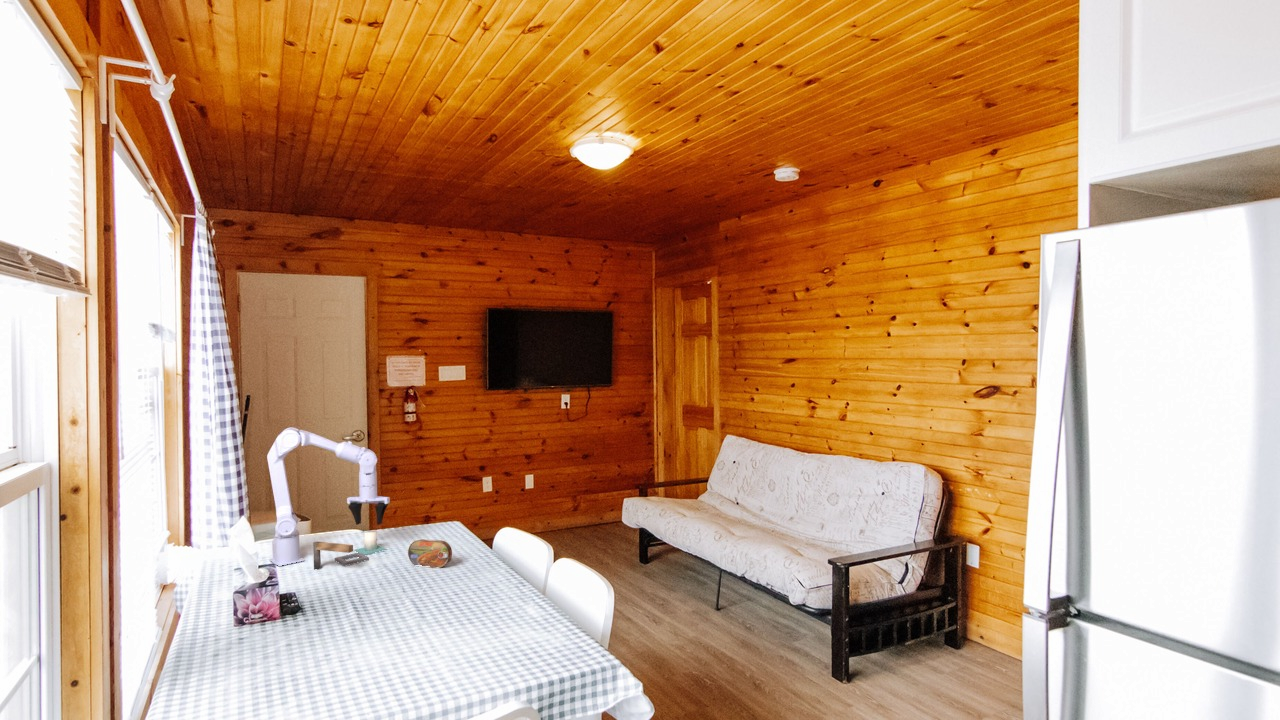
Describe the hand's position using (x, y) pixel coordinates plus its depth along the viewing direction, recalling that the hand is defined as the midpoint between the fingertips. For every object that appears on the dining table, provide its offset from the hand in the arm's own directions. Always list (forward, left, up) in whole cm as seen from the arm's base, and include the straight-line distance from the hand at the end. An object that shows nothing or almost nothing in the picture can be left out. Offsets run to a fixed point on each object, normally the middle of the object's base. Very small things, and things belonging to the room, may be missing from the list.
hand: (368, 524), depth 235 cm
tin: (+31, +6, -10) cm, 33 cm away
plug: (0, 0, -9) cm, 9 cm away
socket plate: (+6, -9, -9) cm, 14 cm away
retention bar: (+12, -17, -9) cm, 23 cm away
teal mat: (0, 0, -9) cm, 9 cm away
